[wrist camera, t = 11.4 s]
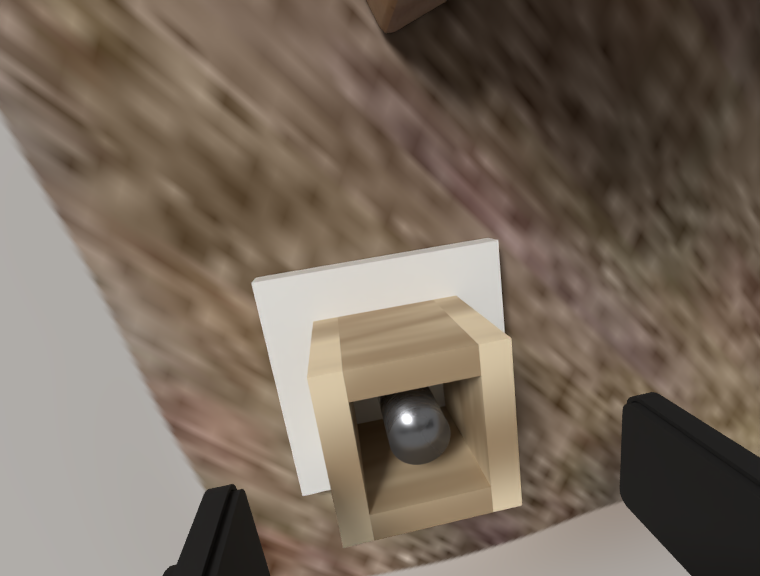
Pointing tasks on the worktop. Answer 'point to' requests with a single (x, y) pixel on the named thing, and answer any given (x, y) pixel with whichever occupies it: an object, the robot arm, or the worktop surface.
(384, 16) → the wooden block
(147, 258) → the worktop surface
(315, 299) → the pin plate
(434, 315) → the maple collar
